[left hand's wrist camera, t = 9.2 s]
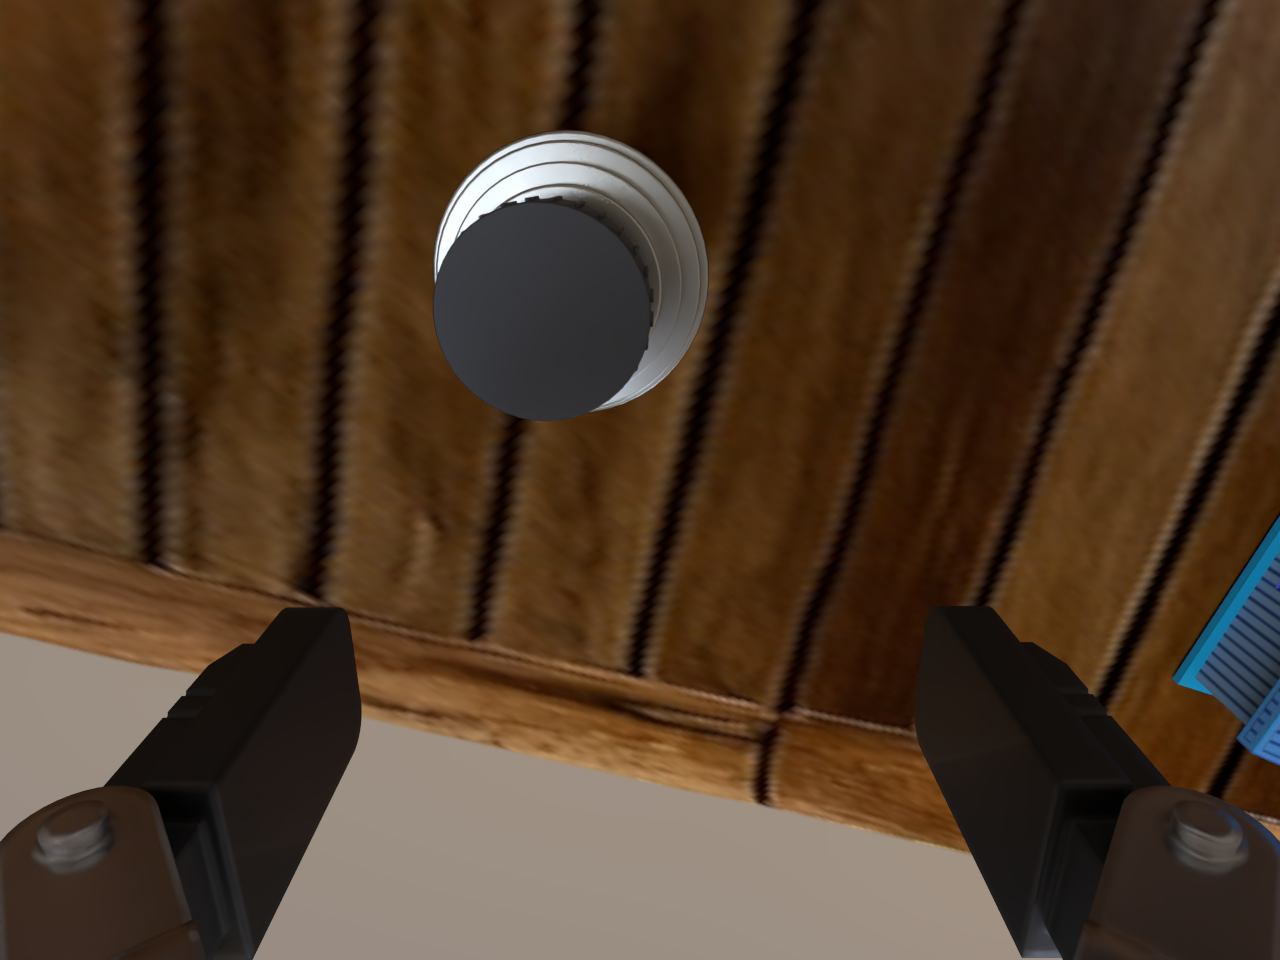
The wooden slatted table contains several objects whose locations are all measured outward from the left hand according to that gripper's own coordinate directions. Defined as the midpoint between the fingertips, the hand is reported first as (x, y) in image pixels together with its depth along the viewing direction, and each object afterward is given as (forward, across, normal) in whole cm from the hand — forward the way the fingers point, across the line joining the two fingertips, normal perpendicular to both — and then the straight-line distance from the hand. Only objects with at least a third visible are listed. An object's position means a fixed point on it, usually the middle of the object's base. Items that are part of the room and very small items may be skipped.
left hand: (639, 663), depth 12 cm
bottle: (+29, -2, +4) cm, 29 cm away
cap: (+6, -2, +4) cm, 7 cm away
